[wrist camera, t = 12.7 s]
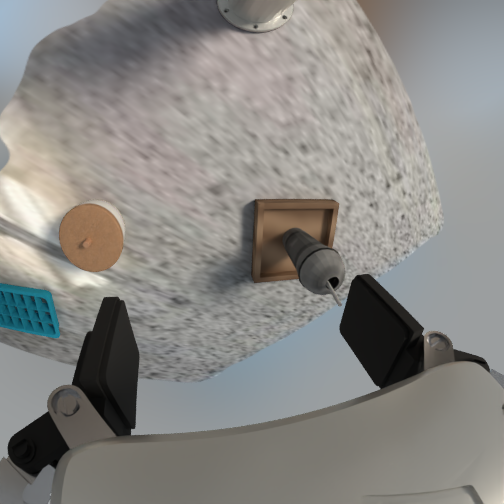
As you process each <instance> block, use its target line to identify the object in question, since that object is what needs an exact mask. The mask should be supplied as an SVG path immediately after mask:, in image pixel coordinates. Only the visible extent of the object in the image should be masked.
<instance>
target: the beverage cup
mask: <svg viewBox="0 0 504 504" xmlns="http://www.w3.org/2000/svg"><path fill="white" fill-rule="evenodd" d="M282 242H283V245H284V247H285V250H286V252H287V253H288V255H289V257H290V259H291V261H292V263H293V265H294V267H295V268H296V270H297V274H298V277H299V281H300V283H301V284H302V285H303V286H304V287H305V288H306V289H308V290H309V291H311V292H313V293H315V294H320V295H326V294H330V293H331V294H332V295H333V297H334V299H335V301H336V302H337V304H338V306H341V305H342V304H341V302H340V300H339V298H338V297H337V295H336V293H335V291H336V290H337V289H338V288H339V287H340V286H341V285H342V283H343V281H344V278H345V265H344V262H343V261H342V259H341V257H340V255H339V253H338V252H337V251H335V250H334V249H332V248H330V247H328V246H325V245H323V244H322V243H320V242H319V241H318V240H316V239H315V238H313V237H312V236H311V235H309V234H308V233H306V232H305V231H303V230H302V229H300V228H297V227H296V228H291V229H289V230H288V231H286V233H285V234H284V236H283V240H282Z"/></svg>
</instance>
